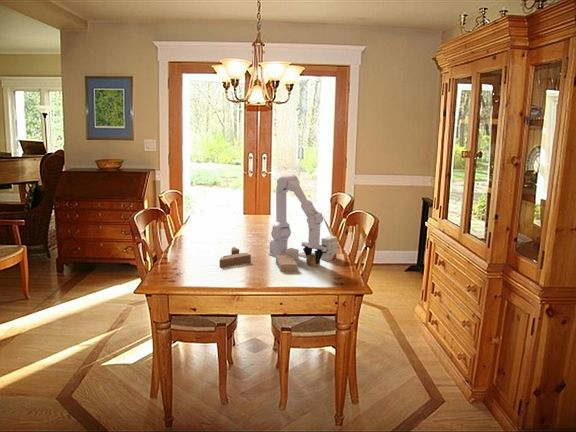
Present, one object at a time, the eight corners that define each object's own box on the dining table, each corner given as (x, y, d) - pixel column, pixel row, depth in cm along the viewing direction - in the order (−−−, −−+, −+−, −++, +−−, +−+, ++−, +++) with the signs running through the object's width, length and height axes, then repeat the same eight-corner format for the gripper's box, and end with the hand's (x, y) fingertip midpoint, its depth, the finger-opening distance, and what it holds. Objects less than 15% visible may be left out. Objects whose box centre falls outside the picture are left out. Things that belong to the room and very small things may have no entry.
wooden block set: (252, 252, 253) (221, 258, 243) (252, 263, 254) (221, 269, 244) (235, 245, 266) (205, 249, 256) (235, 255, 268) (205, 260, 257)
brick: (297, 272, 241) (297, 263, 240) (280, 273, 239) (280, 263, 238) (291, 262, 257) (291, 254, 256) (275, 263, 255) (275, 254, 254)
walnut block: (306, 265, 252) (306, 255, 251) (312, 262, 256) (312, 253, 255) (314, 267, 249) (314, 257, 248) (319, 265, 253) (320, 255, 252)
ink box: (329, 256, 269) (330, 235, 267) (336, 258, 266) (338, 236, 264) (320, 259, 263) (321, 237, 260) (327, 261, 260) (328, 239, 257)
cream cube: (285, 258, 262) (285, 249, 261) (291, 256, 266) (291, 247, 265) (292, 260, 259) (292, 251, 258) (298, 258, 263) (298, 249, 262)
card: (295, 255, 269) (295, 254, 269) (306, 251, 276) (306, 251, 276) (305, 257, 264) (305, 257, 264) (316, 254, 272) (316, 253, 272)
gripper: (298, 235, 251) (297, 260, 254) (321, 240, 242) (319, 267, 245) (306, 233, 256) (305, 258, 259) (329, 238, 247) (328, 264, 250)
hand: (313, 262), depth 252 cm, fingers closed on walnut block, 5 cm apart
